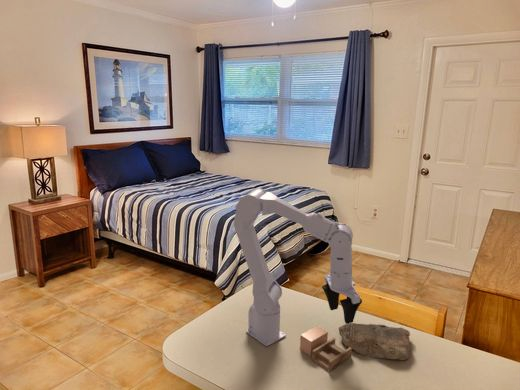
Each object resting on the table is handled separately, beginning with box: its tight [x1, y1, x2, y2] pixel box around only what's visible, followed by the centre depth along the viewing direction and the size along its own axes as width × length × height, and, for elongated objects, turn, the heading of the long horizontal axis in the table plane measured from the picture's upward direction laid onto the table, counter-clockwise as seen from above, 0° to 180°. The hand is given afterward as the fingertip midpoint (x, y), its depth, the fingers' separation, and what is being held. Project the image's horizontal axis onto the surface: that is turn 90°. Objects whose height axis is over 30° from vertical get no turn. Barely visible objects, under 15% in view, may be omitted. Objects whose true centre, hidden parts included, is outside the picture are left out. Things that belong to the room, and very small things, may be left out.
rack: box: [311, 337, 353, 372], centre depth 103 cm, size 9×6×3 cm
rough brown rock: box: [338, 322, 411, 361], centre depth 109 cm, size 14×5×20 cm
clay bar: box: [299, 325, 329, 357], centre depth 108 cm, size 7×4×4 cm, turn 130°
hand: (341, 315), depth 105 cm, fingers open, 7 cm apart
